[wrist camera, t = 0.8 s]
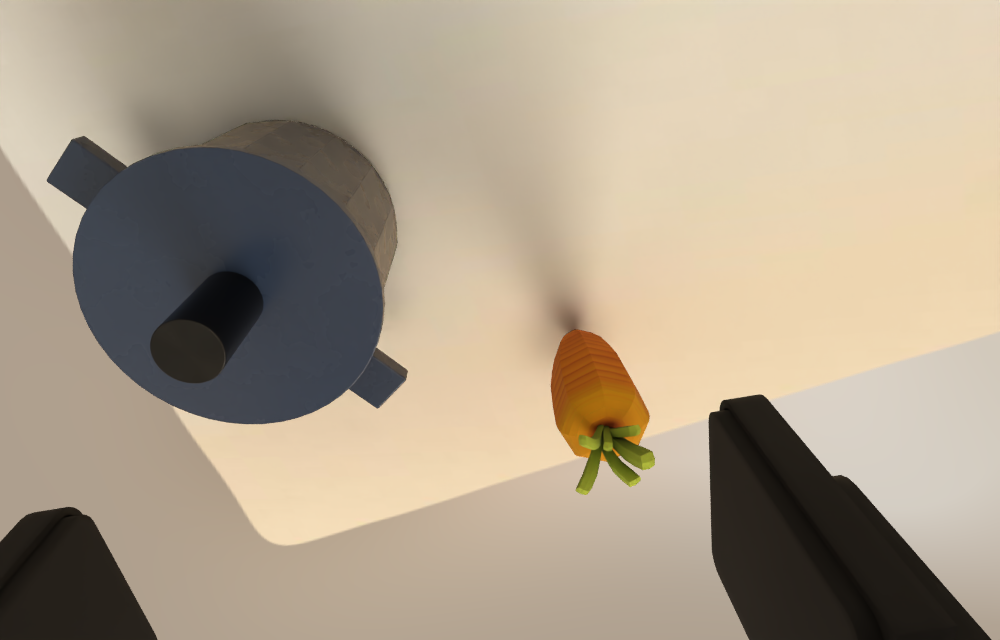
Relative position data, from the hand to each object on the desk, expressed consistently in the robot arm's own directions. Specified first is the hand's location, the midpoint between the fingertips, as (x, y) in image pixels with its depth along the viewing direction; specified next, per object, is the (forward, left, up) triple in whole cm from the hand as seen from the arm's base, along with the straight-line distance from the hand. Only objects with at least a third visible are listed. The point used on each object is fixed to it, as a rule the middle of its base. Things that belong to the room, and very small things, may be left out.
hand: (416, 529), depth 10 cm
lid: (+5, -10, -20) cm, 23 cm away
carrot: (+12, +8, -31) cm, 34 cm away
